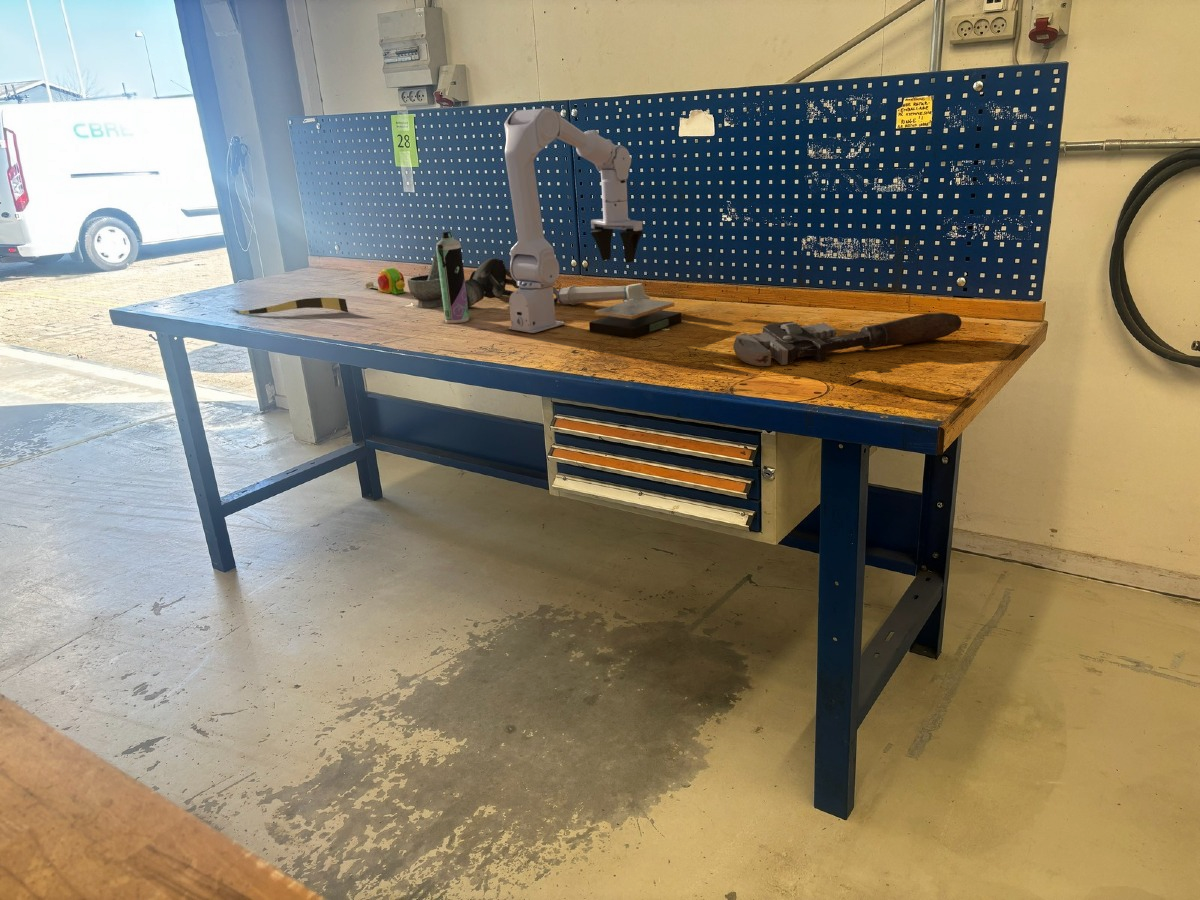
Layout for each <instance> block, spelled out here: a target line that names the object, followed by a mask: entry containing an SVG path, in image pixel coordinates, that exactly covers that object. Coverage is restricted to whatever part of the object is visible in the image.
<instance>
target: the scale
mask: <svg viewBox="0 0 1200 900" xmlns="http://www.w3.org/2000/svg"><path fill="white" fill-rule="evenodd" d="M681 322H682V312H678V311H671V310H665V309H663V310H660V311H657V312H654V313H651V314H648V315H644V316H641V317H638V318H635V319H625V318H618V317H611V316H604V317H602V318H599V319H595V320H592V321H589V322H588V325H589V326H588V327H589V332H591V333H598V334H605V335H611V336H617V337H624V338H629V339H634V338H638V337H641V336H645V335H647V334H650V333H653V332H656V331H658V330H662V329H665V328H668V327H670V326H673V325H676V324H679V323H681Z"/></svg>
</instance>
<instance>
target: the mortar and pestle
mask: <svg viewBox="0 0 1200 900" xmlns="http://www.w3.org/2000/svg"><path fill="white" fill-rule="evenodd" d="M407 286H408V289H409V292H410V294H411V296H412V297H413V298H415V299H416V300H417V302H418V303H417V306H418V308H422V309H430V308H438V307H441V306H443V299H442V291H441V283H440V275H439V267H438V259H437V253H436V254H435V253H434V254H433V255H432V262H431V267H430V269H429V272H428V274H423V275H416V276H412V277H409V278H408V279H407Z"/></svg>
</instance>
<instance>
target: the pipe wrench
mask: <svg viewBox="0 0 1200 900" xmlns="http://www.w3.org/2000/svg"><path fill="white" fill-rule="evenodd" d="M962 321H963V320H962V318H961V317H960V316H959V315H958V314H953V313H948V312H933V313H931V312H930V313H923V314H919V315H914V316H908V317H904V318H899V319H894V320H890V321H886V322H882V323H878V324H877V323H876V324H871V325H865V326H862V327H861V328H860V330H859V331H858V332H857V331H856V332H852V333H846V334H840V335H837V330H836V329H835V328H833V327H832V326H831V325H829V324H827V323H825V322H821V323H815V324H808V325H802V326H801V325H799V324H798V323H797V322H794V321H783V322H774V323H771V324H766V325H763V326H762V332H758V333H751V334H749V333H747V332H745V333H741V334H739V335H737V336H736V337H735V339H734V342H733V346H732V347H733V351H734V353H735V355H736V357H737V358H738V359H739V360H740V361H742V362H743V363H746V364H749V365H752V366H756V367H769V366H771V363H772V359H773V360H775V361H776V362H777V363H779V364H780V365H781V366H785V365H791V363H793V362H794V361H795V359H799V358H803V357H809V358H812V359H813V360H815V361H817V362H822V361H826V359H827V353H831V352H835V351H841V350H847V349H852V348H859V347H862V348H863V349H864V350H871V349H877V348H883V347H892V346H893V347H894V346H901V345H909V344H916V343H922V342H930V341H934V340H937V339H941V338H944V337H948V336H949V335H951V334H954V333H955V332H956V331H959V330H960V329H961V327H962V325H963V323H962Z"/></svg>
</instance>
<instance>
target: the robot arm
mask: <svg viewBox="0 0 1200 900" xmlns="http://www.w3.org/2000/svg"><path fill="white" fill-rule="evenodd" d="M503 126H504V132H505V139H506V141H505V148H504V157H505V165H506V171H507V178H508V184H509V192H510V197H511V198H510V199H511V204H512V211H513V217H514V223H515V230H516V237H517V241H516V243H515V244H514V245H513V246H512V247H511V249H510V251H509V253H510V263H509V271H510V273H511V276H512V278H513V279H514V280H515V281H516V282H517V286H519V288H517V290H515V291H514V292H513V293H512V294H511V295H510V296H509V300H508V305H509V314H510V315H509V316H510V324H511V326H509V327H508V329H509V330H512V331H517V332H524V333H529V334H530V333H531V334H536V333H539V332H543V331H547V330H549V329H553V328H557V327H559V326H563V325H565V321H560V320H556V308H555V304H554V299H555V296H554V295H555V294H554V293H553V287H554V286H555V285H556V281H557V280H558V278H559V276H560V264H559V261H558V259H557V257H556V255H555V249H554V247H553V245H551V243H550V242H548V240H547V239H546V238H545V234H544V228H543V221H542V219H543V218H542V213H541V206H540V198H539V191H538V185H537V176H536V170H535V163H534V160H535V158H536V157H537V156H538V154H539V153H540V152H541V151H542V150H543V149H545V148H546V147H547V146H548V145H549V144H551V143H552V142H553V141H554V140H555V139H557V140H560V141H562V142H563V143H566V144H568V145H569V146H572V147H575V150H576V153H577V155H578V156H579V157H581V158H583V159H584V160H586V161H588V162H590V163H592V164H594V166H595V169H596V170H597V171H598V172H600V181H601V199H602V201H601V202H602V218H596V219H595V218H594V219H590V227H591V229H594V230H591V231H590V235H591V236H592V237H593V239H594V241H595V243H596V245H597V247H598V251H599V253H600V257H601V259H602V261H608V260H611V255H612V250H611V249H612V248H611V247H612V237H613V231H614V230H622V231H619V235H620V238H621V241H622V245H623V253H624V261H625V263H627V264H628V263H633V262H634V261H635V256H636V251H637V248H638V245H639V241H640V240H641V237H642V235H643V234H644V233H643V232H644V231H643V221H642V220H635V219H631V218H629V208H628V185H627V180H628V178H629V170H630V167H631V164H632V157H631V154H630V151H629V150H628V149H627V148H626V147H625V146H623V145H622V144H618V145H617V144H614V143H613V141H612V140H611V139H608V138H607V139H606V138H604V137H603V136H601V135H600V134H599V133H600V132H599V131H598V130H596V129H590V130H585V131H584V132H583V131H582V130H581V129H579V128H578V127H576V126H575V125H574V124H572V123H571V122H570V121H568V120H567V119H565V118H564V117H562V114H561V113H560V112H559V111H555V109H553V108H550V107H543V108H536V109H515V110H513V111H512V112H510V114H509V116H508V117H507V118H506V120H505V122H504V124H503ZM512 278H511V279H512Z"/></svg>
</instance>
